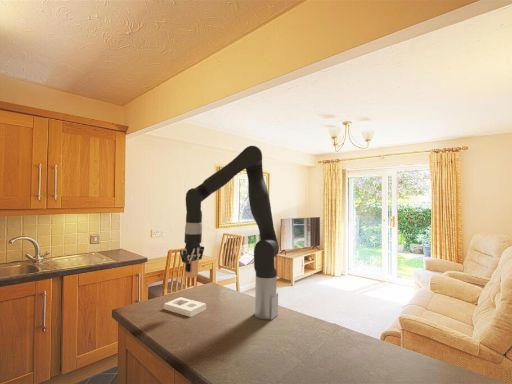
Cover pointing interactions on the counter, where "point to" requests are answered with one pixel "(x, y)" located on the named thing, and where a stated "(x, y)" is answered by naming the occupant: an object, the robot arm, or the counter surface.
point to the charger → (192, 269)
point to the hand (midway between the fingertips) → (191, 270)
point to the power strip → (185, 306)
